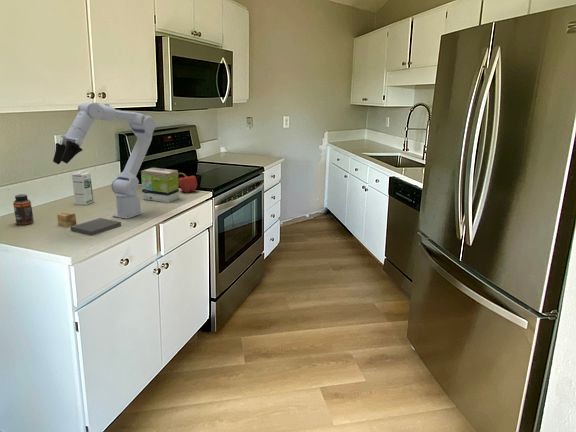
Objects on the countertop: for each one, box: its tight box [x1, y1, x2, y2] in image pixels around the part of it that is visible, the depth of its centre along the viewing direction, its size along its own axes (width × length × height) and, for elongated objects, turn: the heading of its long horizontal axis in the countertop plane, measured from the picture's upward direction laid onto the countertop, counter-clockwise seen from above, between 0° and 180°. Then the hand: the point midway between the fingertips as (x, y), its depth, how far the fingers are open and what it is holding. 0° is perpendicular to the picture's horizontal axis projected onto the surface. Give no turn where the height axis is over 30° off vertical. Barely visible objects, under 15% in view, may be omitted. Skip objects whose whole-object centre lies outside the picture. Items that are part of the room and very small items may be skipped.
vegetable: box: [178, 172, 198, 193], centre depth 227 cm, size 11×10×10 cm
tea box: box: [140, 167, 180, 204], centre depth 209 cm, size 15×10×15 cm
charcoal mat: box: [70, 217, 122, 236], centre depth 164 cm, size 14×11×2 cm
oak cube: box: [56, 211, 77, 228], centre depth 167 cm, size 4×4×4 cm
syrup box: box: [71, 171, 94, 206], centre depth 196 cm, size 6×6×14 cm
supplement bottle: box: [12, 193, 34, 226], centre depth 166 cm, size 6×6×11 cm
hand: (59, 162), depth 151 cm, fingers open, 7 cm apart
